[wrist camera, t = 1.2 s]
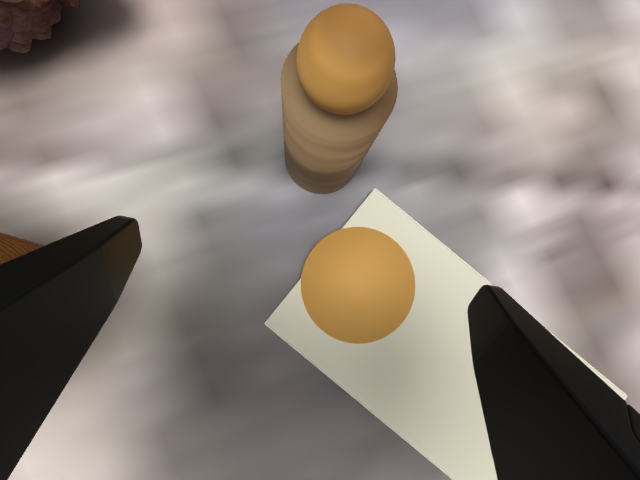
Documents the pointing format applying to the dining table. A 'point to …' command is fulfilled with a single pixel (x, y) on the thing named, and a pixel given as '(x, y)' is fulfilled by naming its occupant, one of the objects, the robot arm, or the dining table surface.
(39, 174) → the dining table surface
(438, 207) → the dining table surface
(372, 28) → the orange ball tube
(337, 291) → the card
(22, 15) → the pine cone
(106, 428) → the dining table surface
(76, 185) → the dining table surface
